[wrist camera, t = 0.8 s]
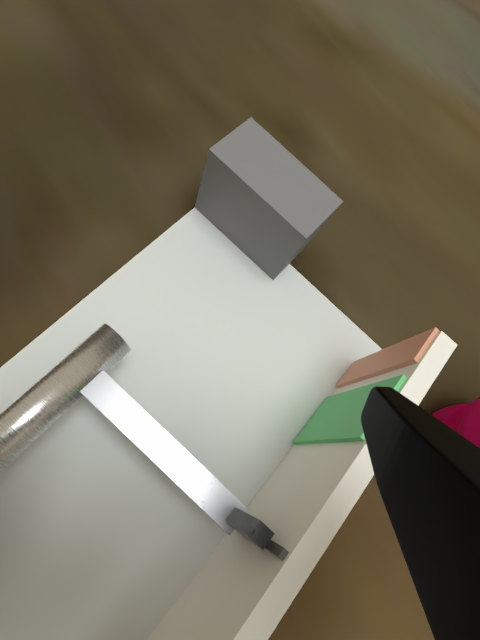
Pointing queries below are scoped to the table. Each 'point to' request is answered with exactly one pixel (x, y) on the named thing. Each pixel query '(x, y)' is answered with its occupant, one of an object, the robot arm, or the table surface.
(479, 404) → the pepper mill
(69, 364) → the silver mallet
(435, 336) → the gauge base
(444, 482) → the robot arm
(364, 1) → the table surface
